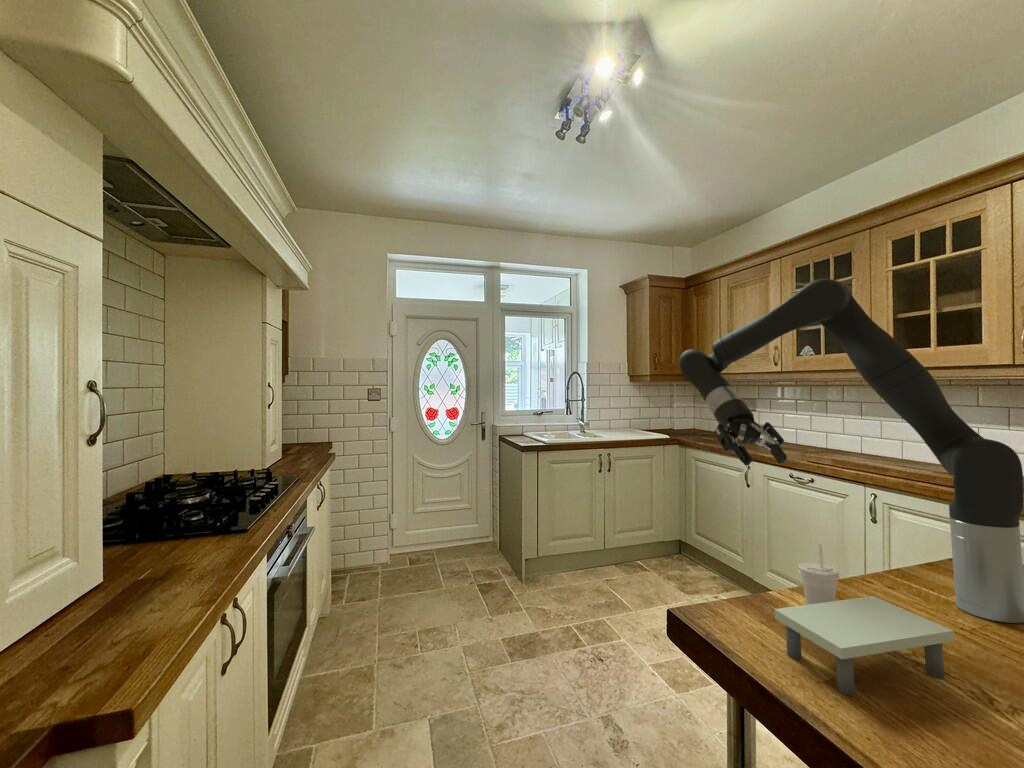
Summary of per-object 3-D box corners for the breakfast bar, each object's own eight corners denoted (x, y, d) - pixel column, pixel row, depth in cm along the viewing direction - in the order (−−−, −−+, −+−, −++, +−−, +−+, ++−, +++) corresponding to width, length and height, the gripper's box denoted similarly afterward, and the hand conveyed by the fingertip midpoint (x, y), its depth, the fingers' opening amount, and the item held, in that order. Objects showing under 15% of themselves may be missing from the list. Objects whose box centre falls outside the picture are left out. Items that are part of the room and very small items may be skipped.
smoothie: (849, 630, 79) (845, 551, 79) (810, 627, 80) (805, 549, 80) (831, 613, 85) (827, 540, 85) (794, 611, 86) (790, 539, 87)
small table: (875, 636, 76) (873, 596, 77) (957, 679, 64) (954, 630, 65) (776, 652, 72) (774, 609, 73) (844, 700, 61) (841, 648, 61)
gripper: (708, 398, 103) (746, 452, 91) (761, 397, 105) (804, 449, 94) (696, 420, 108) (729, 474, 96) (746, 418, 110) (785, 470, 99)
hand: (766, 462), depth 95 cm, fingers open, 8 cm apart
